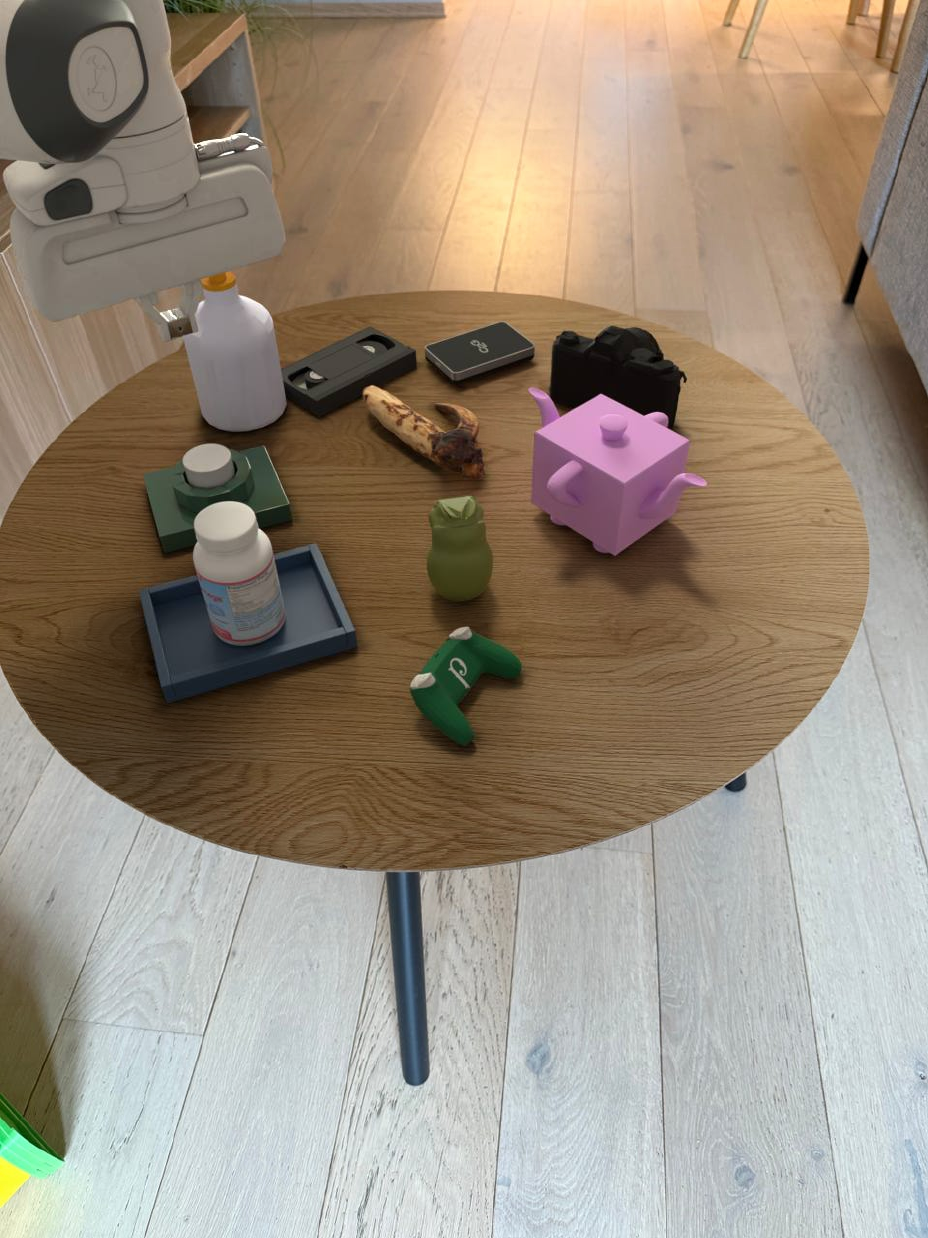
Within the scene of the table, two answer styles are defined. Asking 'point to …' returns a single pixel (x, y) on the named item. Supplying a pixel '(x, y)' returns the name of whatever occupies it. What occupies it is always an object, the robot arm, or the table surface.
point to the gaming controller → (459, 679)
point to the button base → (215, 496)
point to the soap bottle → (235, 359)
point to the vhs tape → (346, 370)
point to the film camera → (615, 371)
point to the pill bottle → (237, 574)
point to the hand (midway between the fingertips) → (178, 334)
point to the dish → (208, 663)
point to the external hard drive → (479, 352)
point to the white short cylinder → (208, 466)
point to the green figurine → (459, 549)
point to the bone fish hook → (431, 432)
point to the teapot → (608, 470)
